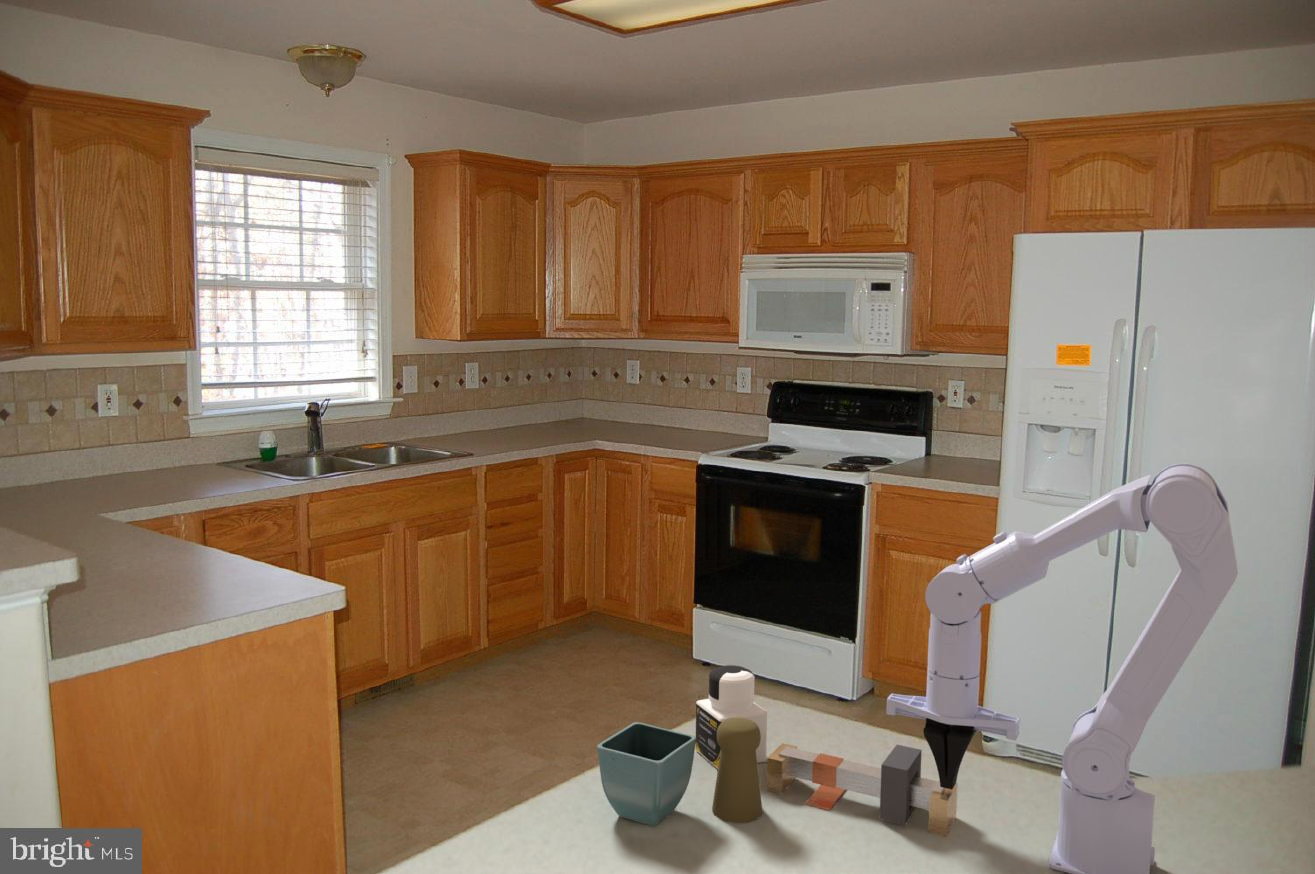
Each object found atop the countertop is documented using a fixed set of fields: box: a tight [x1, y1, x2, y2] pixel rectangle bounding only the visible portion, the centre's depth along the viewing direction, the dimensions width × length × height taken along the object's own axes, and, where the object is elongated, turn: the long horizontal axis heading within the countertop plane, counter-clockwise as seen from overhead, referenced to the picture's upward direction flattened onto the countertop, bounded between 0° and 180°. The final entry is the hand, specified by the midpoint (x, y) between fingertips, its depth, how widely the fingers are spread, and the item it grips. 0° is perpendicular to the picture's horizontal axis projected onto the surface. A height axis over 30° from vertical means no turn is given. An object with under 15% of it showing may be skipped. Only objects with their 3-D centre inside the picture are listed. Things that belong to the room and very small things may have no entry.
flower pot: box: [596, 721, 696, 827], centre depth 115 cm, size 9×9×9 cm
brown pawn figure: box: [711, 717, 764, 824], centre depth 116 cm, size 6×6×11 cm
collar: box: [879, 744, 923, 826], centre depth 115 cm, size 3×6×7 cm, turn 151°
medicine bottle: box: [695, 664, 768, 770], centre depth 130 cm, size 7×7×12 cm
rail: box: [766, 742, 958, 837], centre depth 118 cm, size 22×7×4 cm, turn 61°
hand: (948, 784), depth 113 cm, fingers closed
